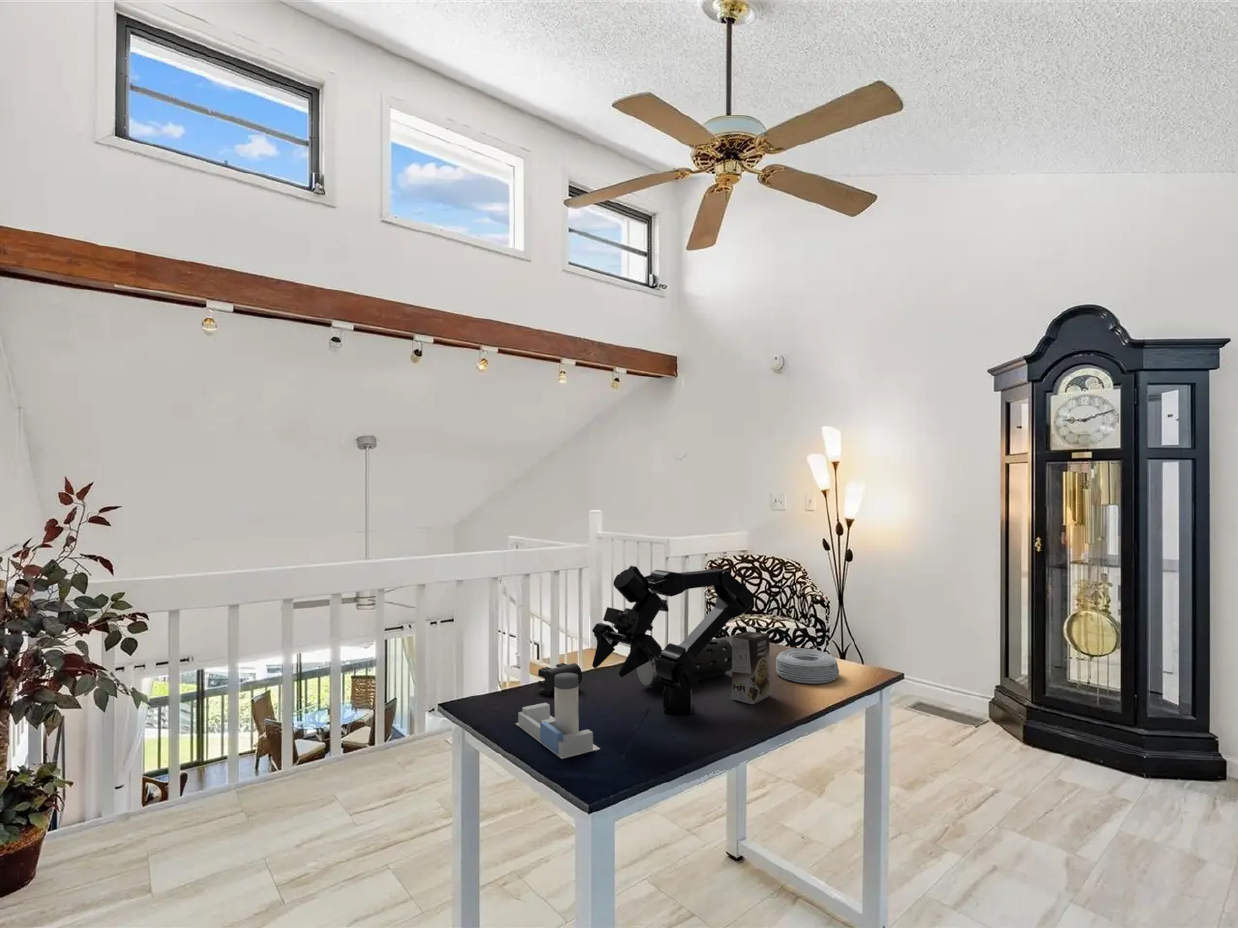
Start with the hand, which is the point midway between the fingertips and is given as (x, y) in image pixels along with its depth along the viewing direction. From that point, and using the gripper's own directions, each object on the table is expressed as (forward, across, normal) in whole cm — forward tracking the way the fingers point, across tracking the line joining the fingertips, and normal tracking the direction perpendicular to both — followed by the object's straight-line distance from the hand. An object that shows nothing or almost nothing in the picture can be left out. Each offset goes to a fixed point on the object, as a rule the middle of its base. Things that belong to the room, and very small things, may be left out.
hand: (606, 671), depth 150 cm
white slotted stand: (+17, -4, +2) cm, 18 cm away
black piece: (+3, -30, +16) cm, 35 cm away
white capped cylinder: (+17, +1, +1) cm, 17 cm away
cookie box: (-20, +7, +40) cm, 45 cm away
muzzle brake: (-18, -14, +38) cm, 45 cm away
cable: (-40, +6, +60) cm, 72 cm away
